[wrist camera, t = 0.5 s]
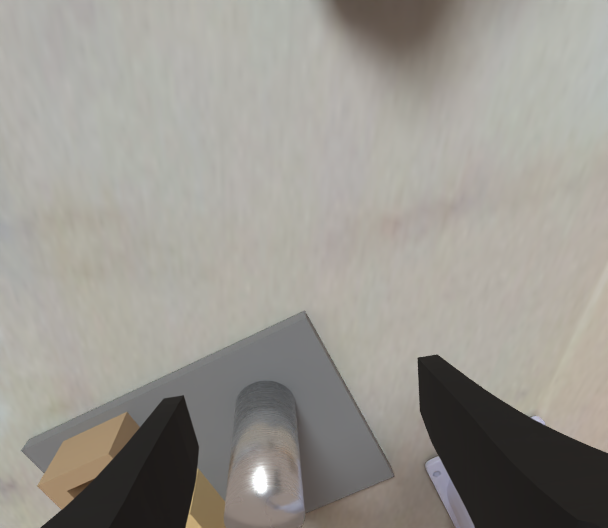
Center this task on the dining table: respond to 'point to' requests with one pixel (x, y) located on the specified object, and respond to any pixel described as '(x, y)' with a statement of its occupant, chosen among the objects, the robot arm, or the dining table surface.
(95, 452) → the fitting board
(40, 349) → the dining table surface
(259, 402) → the metal round peg
